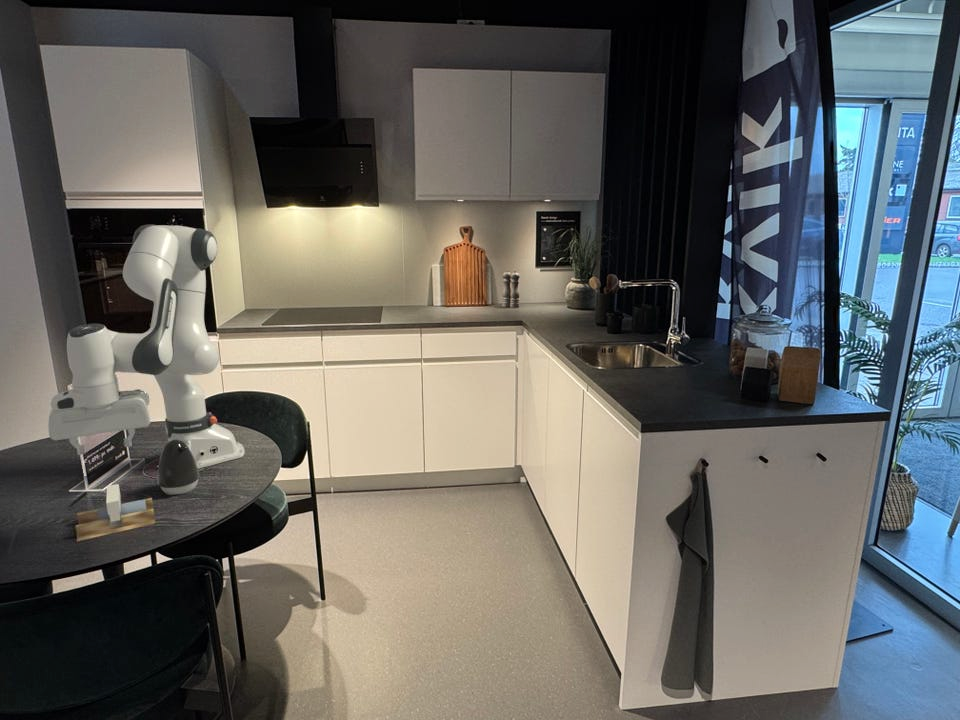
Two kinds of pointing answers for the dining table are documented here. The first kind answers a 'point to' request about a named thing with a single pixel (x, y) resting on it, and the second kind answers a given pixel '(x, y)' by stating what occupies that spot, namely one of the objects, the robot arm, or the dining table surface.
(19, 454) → the dining table surface
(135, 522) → the brown low boxy piece
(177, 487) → the dark grey egg shape
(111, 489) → the tie bar
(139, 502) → the light blue block
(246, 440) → the dining table surface
